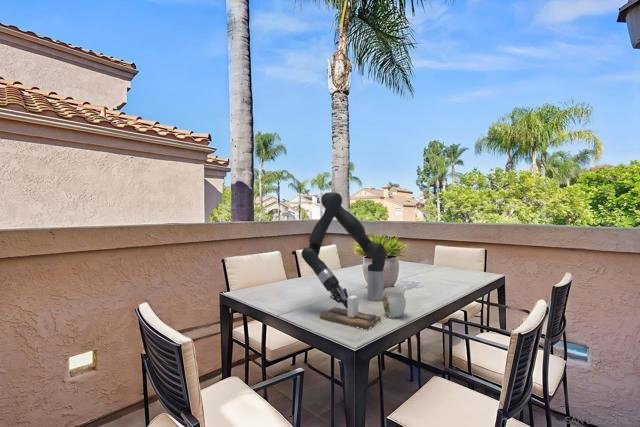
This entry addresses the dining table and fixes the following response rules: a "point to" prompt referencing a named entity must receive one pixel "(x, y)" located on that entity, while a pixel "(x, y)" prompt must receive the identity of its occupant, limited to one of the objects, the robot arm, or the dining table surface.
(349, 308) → the slider tab
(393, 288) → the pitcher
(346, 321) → the board
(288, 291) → the dining table surface
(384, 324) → the dining table surface
